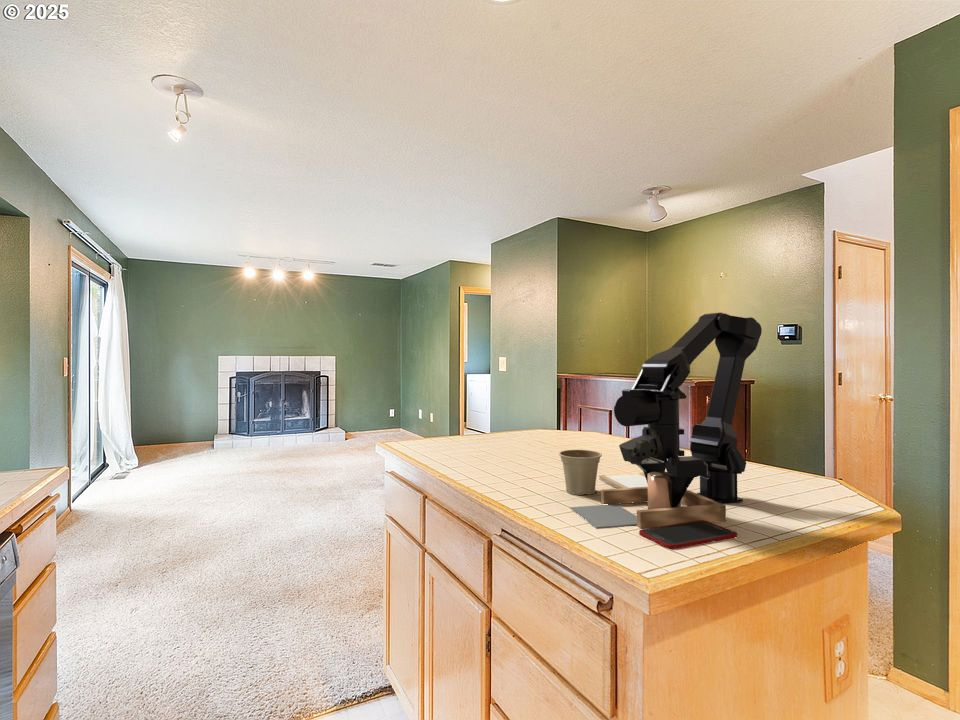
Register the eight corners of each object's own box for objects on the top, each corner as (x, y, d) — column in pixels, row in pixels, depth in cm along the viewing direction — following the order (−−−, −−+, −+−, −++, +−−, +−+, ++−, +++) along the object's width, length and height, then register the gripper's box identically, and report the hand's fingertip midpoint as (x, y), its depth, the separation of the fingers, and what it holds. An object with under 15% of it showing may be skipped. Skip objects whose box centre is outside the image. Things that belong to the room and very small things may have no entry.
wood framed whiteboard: (599, 479, 121) (599, 475, 121) (643, 476, 123) (643, 472, 123) (634, 498, 104) (634, 493, 104) (685, 494, 106) (685, 490, 106)
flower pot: (603, 498, 104) (602, 458, 104) (558, 496, 106) (557, 456, 106) (601, 487, 113) (600, 450, 113) (560, 485, 115) (559, 449, 115)
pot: (669, 505, 98) (668, 470, 98) (687, 515, 93) (687, 476, 93) (641, 507, 97) (641, 471, 97) (658, 517, 91) (658, 478, 91)
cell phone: (636, 536, 83) (636, 530, 83) (703, 524, 88) (703, 519, 88) (669, 552, 76) (669, 545, 76) (740, 539, 81) (740, 533, 81)
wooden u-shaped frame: (675, 497, 104) (675, 484, 104) (725, 521, 89) (725, 505, 89) (601, 503, 100) (601, 489, 100) (640, 528, 85) (640, 512, 85)
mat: (616, 504, 99) (616, 503, 99) (648, 524, 88) (648, 522, 88) (569, 508, 97) (569, 507, 97) (596, 528, 86) (596, 527, 86)
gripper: (603, 418, 102) (603, 493, 102) (652, 431, 84) (652, 521, 84) (651, 417, 105) (652, 490, 105) (709, 428, 86) (710, 517, 86)
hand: (664, 503), depth 95 cm, fingers closed on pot, 6 cm apart
